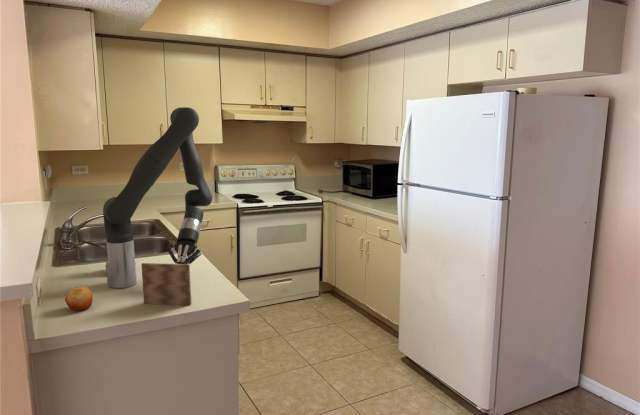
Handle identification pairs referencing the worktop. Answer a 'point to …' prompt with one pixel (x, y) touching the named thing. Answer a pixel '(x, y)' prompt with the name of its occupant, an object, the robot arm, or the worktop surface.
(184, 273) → the brown wooden block
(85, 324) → the worktop surface
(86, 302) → the fruit
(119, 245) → the robot arm
